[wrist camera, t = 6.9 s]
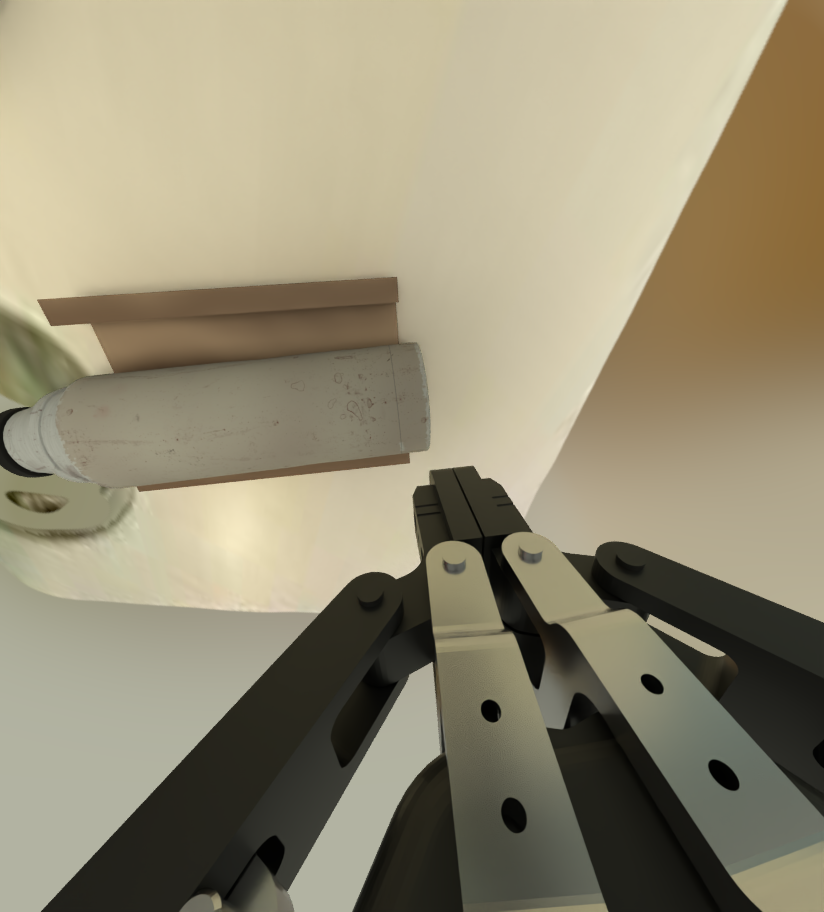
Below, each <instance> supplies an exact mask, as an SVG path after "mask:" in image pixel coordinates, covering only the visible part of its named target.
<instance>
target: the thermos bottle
mask: <svg viewBox="0 0 824 912" xmlns="http://www.w3.org/2000/svg"><path fill="white" fill-rule="evenodd" d="M429 446H430V409H429V398H428V389H427V381H426V374H425V368H424V363H423V358H422V354H421V350H420V348H419V345H418V344H417V343H405V344H394V345H384V346H376V347H368V348H360V349H349V350H338V351H328V352H318V353H308V354H299V355H290V356H283V357H275V358H267V359H258V360H246V361H232V362H221V363H211V364H201V365H192V366H182V367H172V368H162V369H153V370H143V371H133V372H124V373H114V374H104V375H94V376H87V377H84V378H81V379H78V380H76V381H75V382H73V383H72V384H70V385H69V386H68V387H64V388H61V389H59V390H56V391H54V392H51V393H48V394H46V395H45V396H43V397H42V398H40V399H39V401H38V402H37V403H36V404H35V405H34V406H33V407H23V408H15V409H10V410H7V411H4V412H2V413H0V465H1V466H2V467H3V468H4V469H6V470H8V471H10V472H11V473H14V474H16V475H19V476H24V477H44V476H49V475H53V474H56V475H57V476H59V477H61V478H64V479H66V480H69V481H73V482H90V483H96V484H98V485H100V486H104V487H108V488H128V487H136V486H144V485H152V484H160V483H168V482H177V481H185V480H193V479H201V478H209V477H217V476H225V475H233V474H241V473H249V472H258V471H266V470H274V469H282V468H289V467H296V466H303V465H309V464H317V463H326V462H336V461H346V460H355V459H363V458H371V457H379V456H387V455H395V454H403V453H411V452H420V451H427V450H428V449H429Z"/></svg>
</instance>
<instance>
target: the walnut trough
mask: <svg viewBox="0 0 824 912" xmlns="http://www.w3.org/2000/svg"><path fill="white" fill-rule="evenodd" d="M37 301H38V303H39V304H40V306H41V308H42V310H43V312H44V314H45V316H46V318H47V319H48V321H49V323H50V325H51V326H60V325H74V324H89V323H91V325H92V327H93V329H94V331H95V334H96V336H97V338H98V340H99V342H100V344H101V346H102V348H103V350H104V352H105V354H106V357H107V359H108V361H109V363H110V365H111V367H112V369H113V371H114V373H124V372H133V371H143V370H153V369H162V368H172V367H182V366H192V365H201V364H211V363H221V362H232V361H246V360H258V359H267V358H275V357H283V356H290V355H299V354H308V353H318V352H328V351H338V350H349V349H360V348H368V347H376V346H384V345H394V344H399V342H398V329H397V315H396V302H399V300H398V286H397V277H390V278H374V279H358V280H342V281H326V282H311V283H295V284H279V285H263V286H247V287H231V288H215V289H199V290H183V291H168V292H152V293H136V294H120V295H104V296H88V297H72V298H56V299H41V300H37ZM406 463H410V458H409V453H403V454H395V455H387V456H379V457H371V458H363V459H355V460H346V461H336V462H326V463H317V464H309V465H303V466H296V467H289V468H282V469H274V470H266V471H258V472H249V473H241V474H233V475H225V476H217V477H209V478H201V479H193V480H185V481H177V482H168V483H160V484H152V485H144V486H137V488H138V490H139V492H141V491H151V490H160V489H170V488H179V487H189V486H198V485H208V484H217V483H226V482H236V481H245V480H255V479H264V478H274V477H283V476H293V475H302V474H312V473H321V472H331V471H340V470H350V469H359V468H369V467H378V466H387V465H397V464H406Z"/></svg>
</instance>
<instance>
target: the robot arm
mask: <svg viewBox="0 0 824 912" xmlns="http://www.w3.org/2000/svg"><path fill="white" fill-rule="evenodd" d="M429 479H430V485H426V486H417V488H416V490H415V492H414V494H413V508H414V522H415V533H416V538H417V543H418V549H419V555H420V560H421V563H420V565H419V566H418V567H417V568H416V569H415V570H414V571H412V572H411V573H409V574H407V575H405V576H403V577H401V578H399V579H395V578H394V577H392V576H390V575H388V574H386V573H381V572H370V573H365V574H363V575H360V576H358V577H356V578H354V579H353V580H352V581H350V582H349V583H348V584H347V585H346V586H345V587H344V588H343V590H342V591H341V592H340V593H339V594H338V595H337V596H336V597H335V598H334V599H333V600H332V601H331V602H330V603H329V605H328V606H327V607H326V608H325V609H324V610H323V611H322V612H321V613H320V614H319V615H318V616H317V617H316V619H315V620H314V621H313V622H312V623H311V624H310V625H309V626H308V627H307V628H306V629H305V630H304V631H303V632H302V633H301V635H300V636H299V637H298V638H297V639H296V640H295V641H294V642H293V643H292V644H291V645H290V646H289V647H288V648H287V649H286V650H285V651H284V653H283V654H282V655H281V656H280V657H279V658H278V659H277V660H276V661H275V662H274V663H273V664H272V665H271V666H270V667H269V669H268V670H267V671H266V672H265V673H264V674H263V675H262V676H261V677H260V678H259V679H258V680H257V681H256V682H255V684H254V685H253V686H252V687H251V688H250V689H249V690H248V691H247V692H246V693H245V694H244V695H243V696H242V697H241V698H240V700H239V701H238V702H237V703H236V704H235V705H234V706H233V707H232V708H231V709H230V710H229V711H228V712H227V713H226V714H225V716H224V717H223V718H222V719H221V720H220V721H219V722H218V723H217V724H216V725H215V726H214V727H213V728H212V729H211V730H210V732H209V733H208V734H207V735H206V736H205V737H204V738H203V739H202V740H201V741H200V742H199V743H198V744H197V746H195V748H194V749H193V750H192V751H191V752H190V753H189V754H188V755H187V756H186V757H185V758H184V759H183V760H182V762H181V763H180V764H179V765H178V766H177V767H176V768H175V769H174V770H173V771H172V772H171V773H170V774H169V775H168V776H167V778H166V779H165V780H164V781H163V782H162V783H161V784H160V785H159V786H158V787H157V788H156V789H155V790H154V791H153V793H151V795H150V796H149V797H148V798H147V799H146V800H145V801H144V802H143V803H142V804H141V805H140V806H139V807H138V808H137V809H136V811H135V812H134V813H133V814H132V815H131V816H130V817H129V818H128V819H127V820H126V821H125V823H123V824H122V826H121V827H120V828H119V829H118V830H117V831H116V832H115V833H114V834H113V835H112V836H111V837H110V838H109V839H108V840H107V842H106V843H105V844H104V845H103V846H102V847H101V848H100V849H99V850H98V851H97V852H96V853H95V854H94V855H93V856H92V858H91V859H90V860H89V861H88V862H87V863H86V864H85V865H84V866H83V867H82V868H81V869H80V870H79V871H78V873H77V874H76V875H75V876H74V877H73V878H72V879H71V880H70V881H69V882H68V883H67V884H66V885H65V886H64V887H63V888H62V890H61V891H60V892H59V893H58V894H57V895H56V896H55V897H54V898H53V899H52V900H51V901H50V902H49V903H48V905H47V906H46V907H45V908H44V909H43V910H42V911H41V912H294V908H293V904H292V901H291V899H290V896H289V894H288V892H287V891H288V889H289V887H290V886H291V884H292V882H293V880H294V879H295V877H296V875H297V873H298V872H299V869H300V868H301V866H302V865H303V863H304V861H305V859H306V858H307V856H308V854H309V852H310V851H311V849H312V847H313V845H314V843H315V842H316V840H317V838H318V836H319V835H320V833H321V831H322V830H323V828H324V826H325V824H326V823H327V821H328V819H329V817H330V816H331V814H332V812H333V810H334V808H335V807H336V805H337V803H338V801H339V800H340V798H341V796H342V794H343V793H344V791H345V789H346V787H347V786H348V784H349V782H350V780H351V779H352V777H353V775H354V773H355V772H356V770H357V768H358V766H359V765H360V763H361V761H362V759H363V758H364V756H365V754H366V752H367V751H368V749H369V747H370V745H371V743H372V742H373V740H374V738H375V737H376V735H377V733H378V731H379V729H380V728H381V726H382V724H383V723H384V721H385V719H386V717H387V716H388V714H389V712H390V710H391V709H392V707H393V705H394V703H395V701H396V700H397V698H398V696H399V695H400V693H401V691H402V689H403V688H404V686H405V684H406V682H407V680H408V677H409V674H411V673H413V672H415V671H417V670H418V669H420V668H422V667H424V666H425V665H427V664H429V663H431V662H433V672H434V682H435V693H436V704H437V717H438V730H439V743H440V755H439V756H438V757H437V758H435V759H434V760H433V761H432V762H430V763H429V764H428V765H427V766H426V767H425V768H424V769H423V770H422V771H421V772H420V773H419V774H418V775H417V777H416V778H415V779H414V781H413V782H412V783H411V785H410V786H409V787H408V789H407V790H406V792H405V794H404V795H403V797H402V799H401V801H400V803H399V805H398V806H397V808H396V810H395V812H394V815H393V817H392V819H391V822H390V824H389V826H388V829H387V831H386V833H385V836H384V838H383V841H382V843H381V845H380V847H379V850H378V852H377V854H376V857H375V859H374V862H373V864H372V866H371V869H370V871H369V873H368V876H367V878H366V881H365V883H364V885H363V888H362V890H361V892H360V895H359V897H358V899H357V902H356V904H355V907H354V909H353V912H824V623H823V622H821V621H818V620H816V619H813V618H811V617H808V616H806V615H804V614H801V613H799V612H796V611H794V610H791V609H789V608H786V607H784V606H782V605H779V604H777V603H774V602H772V601H769V600H767V599H764V598H762V597H760V596H757V595H755V594H752V593H750V592H748V591H745V590H743V589H740V588H738V587H735V586H733V585H731V584H728V583H726V582H723V581H721V580H718V579H716V578H714V577H711V576H709V575H706V574H704V573H701V572H699V571H696V570H694V569H691V568H689V567H687V566H684V565H682V564H679V563H677V562H675V561H672V560H670V559H667V558H665V557H662V556H660V555H658V554H655V553H653V552H650V551H648V550H645V549H643V548H640V547H638V546H635V545H632V544H628V543H624V542H607V543H604V544H602V545H600V546H599V547H598V548H597V550H596V554H595V556H587V555H579V554H570V553H564V552H561V551H560V550H559V549H558V548H557V547H556V545H555V544H554V543H553V542H551V541H550V540H549V539H547V538H546V537H543V536H541V535H538V534H535V533H533V532H532V531H531V529H530V528H529V526H528V525H527V523H526V522H525V520H524V519H523V517H522V516H521V514H520V513H519V511H518V510H517V508H516V507H515V505H513V502H512V501H511V499H510V498H509V497H508V495H507V493H506V492H505V490H504V489H503V487H502V486H501V485H500V484H498V483H497V482H495V481H494V480H492V479H491V478H487V479H481V478H480V476H479V474H478V472H477V471H476V469H475V467H474V466H466V467H457V468H452V469H451V468H448V469H439V470H430V473H429ZM650 614H651V615H653V616H655V617H657V618H658V619H660V620H662V621H664V622H666V623H668V624H670V625H672V626H674V627H676V628H678V629H680V630H682V631H684V632H686V633H688V634H690V635H691V636H693V637H695V638H697V639H699V640H701V641H703V642H705V643H707V644H709V645H711V646H713V647H715V648H716V649H718V650H720V651H722V652H724V653H725V654H726V655H724V656H722V657H713V656H708V655H705V654H703V653H701V652H699V651H697V650H695V649H694V648H692V647H690V646H688V645H686V644H684V643H682V642H681V641H679V640H677V639H675V638H673V637H671V636H669V635H667V634H665V633H664V632H662V631H660V630H658V629H656V628H654V627H653V626H651V625H649V624H647V623H646V622H647V619H648V617H649V615H650Z"/></svg>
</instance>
